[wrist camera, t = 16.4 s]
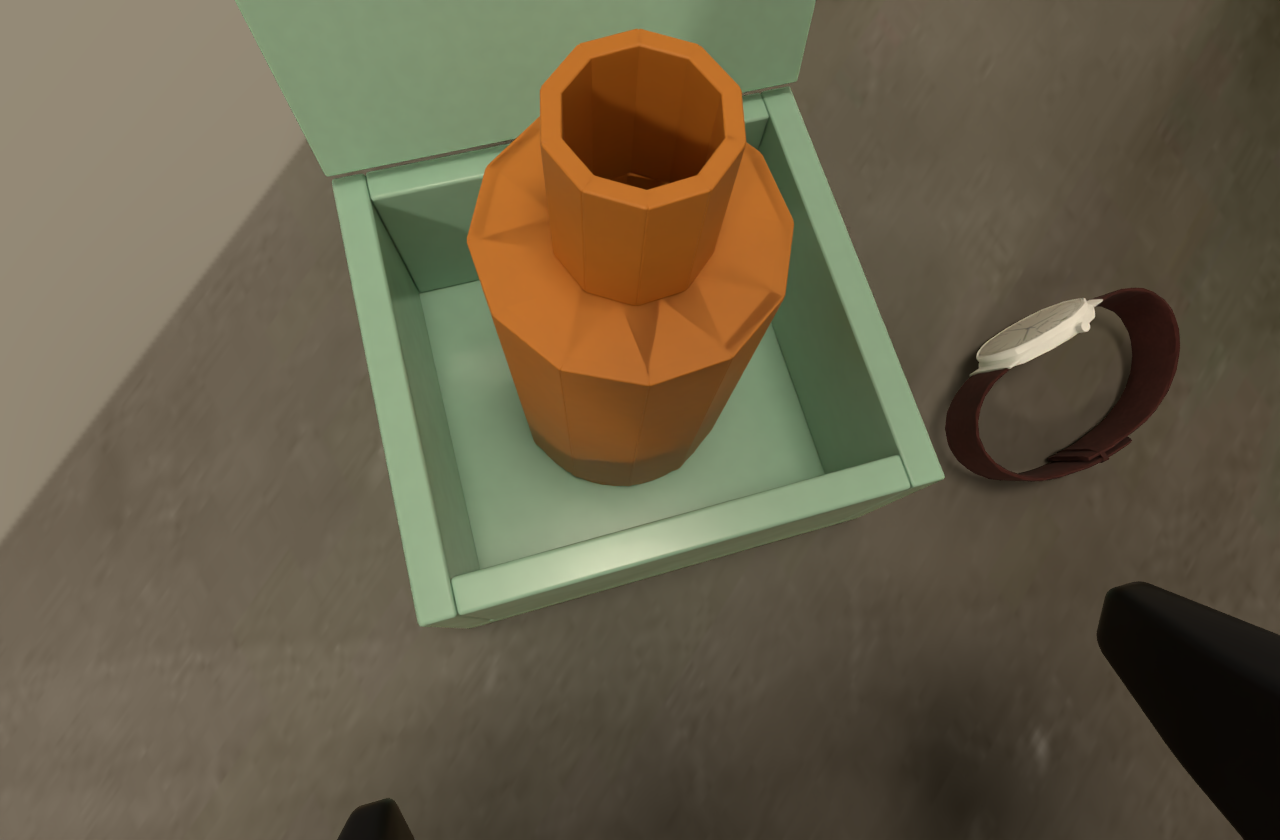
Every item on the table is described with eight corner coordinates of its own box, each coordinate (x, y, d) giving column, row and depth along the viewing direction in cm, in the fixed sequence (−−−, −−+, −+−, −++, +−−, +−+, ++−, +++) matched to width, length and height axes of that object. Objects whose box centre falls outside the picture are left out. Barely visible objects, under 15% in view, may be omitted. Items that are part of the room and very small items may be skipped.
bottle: (743, 448, 21) (914, 229, 10) (559, 514, 20) (508, 359, 9) (673, 281, 23) (751, -84, 11) (498, 337, 22) (385, 5, 10)
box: (857, 517, 22) (947, 478, 16) (467, 629, 20) (417, 627, 15) (746, 209, 24) (789, 84, 19) (395, 288, 23) (329, 178, 17)
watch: (1071, 280, 24) (1150, 221, 21) (1173, 393, 23) (1274, 351, 20) (896, 406, 23) (950, 365, 19) (998, 532, 22) (1074, 513, 18)
